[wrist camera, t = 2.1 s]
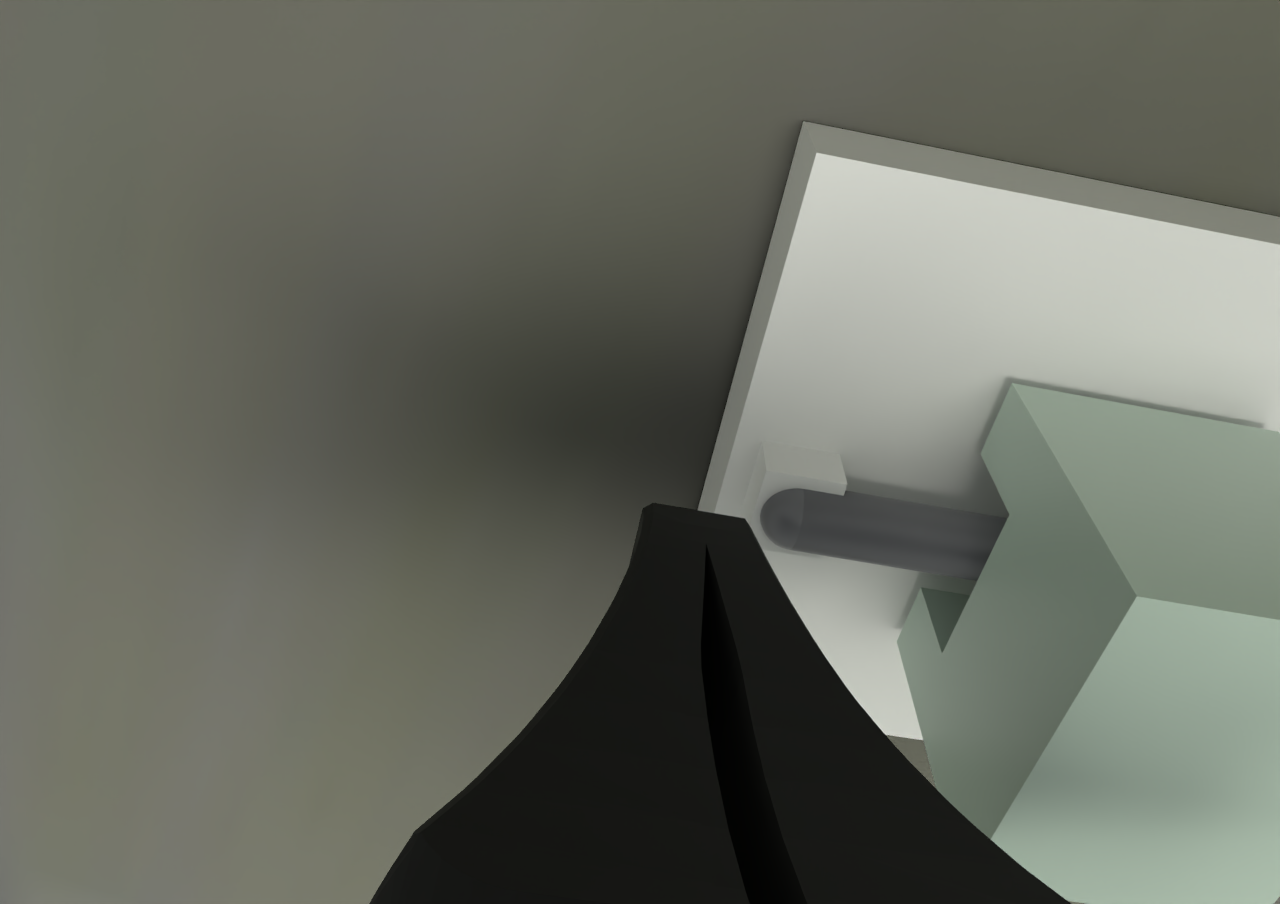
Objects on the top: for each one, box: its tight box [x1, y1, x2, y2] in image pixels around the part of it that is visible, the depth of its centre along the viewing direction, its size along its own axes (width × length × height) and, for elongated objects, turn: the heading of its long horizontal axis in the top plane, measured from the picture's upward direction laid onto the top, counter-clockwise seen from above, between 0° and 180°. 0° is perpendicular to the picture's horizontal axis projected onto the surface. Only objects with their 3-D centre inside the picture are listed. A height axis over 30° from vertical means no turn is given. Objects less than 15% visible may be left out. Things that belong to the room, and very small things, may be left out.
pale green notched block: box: [897, 383, 1280, 904], centre depth 14 cm, size 4×5×4 cm
